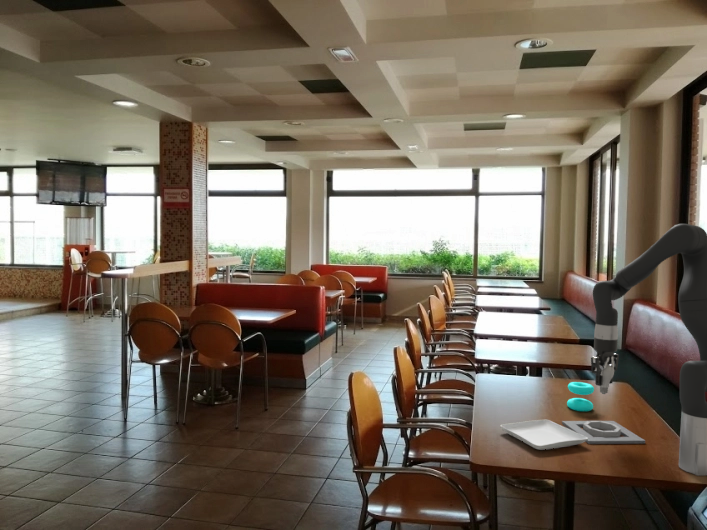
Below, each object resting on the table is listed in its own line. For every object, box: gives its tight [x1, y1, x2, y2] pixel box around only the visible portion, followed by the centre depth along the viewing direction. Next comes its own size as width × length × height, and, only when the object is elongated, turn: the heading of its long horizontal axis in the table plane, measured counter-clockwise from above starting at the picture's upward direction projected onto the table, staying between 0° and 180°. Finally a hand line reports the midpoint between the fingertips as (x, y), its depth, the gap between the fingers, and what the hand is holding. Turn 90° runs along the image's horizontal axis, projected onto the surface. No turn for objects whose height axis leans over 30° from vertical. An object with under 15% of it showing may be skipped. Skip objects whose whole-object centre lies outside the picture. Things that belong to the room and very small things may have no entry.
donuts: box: [566, 381, 595, 412], centre depth 227 cm, size 10×10×10 cm
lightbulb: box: [599, 365, 615, 395], centre depth 198 cm, size 6×6×11 cm
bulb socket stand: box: [561, 420, 646, 445], centre depth 199 cm, size 20×20×2 cm
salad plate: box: [499, 418, 588, 451], centre depth 192 cm, size 21×21×3 cm
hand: (604, 384), depth 198 cm, fingers closed on lightbulb, 5 cm apart
